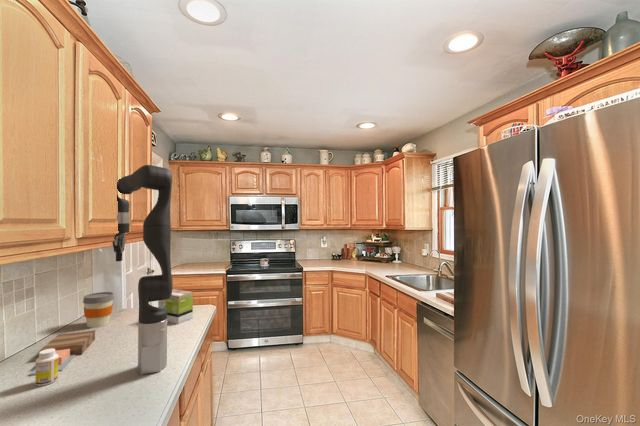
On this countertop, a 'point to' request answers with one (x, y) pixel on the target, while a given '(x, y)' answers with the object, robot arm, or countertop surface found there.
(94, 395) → the countertop surface
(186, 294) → the tea box
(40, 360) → the supplement bottle
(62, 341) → the block
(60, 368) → the mat
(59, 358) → the salmon foam block
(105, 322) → the reusable coffee cup
